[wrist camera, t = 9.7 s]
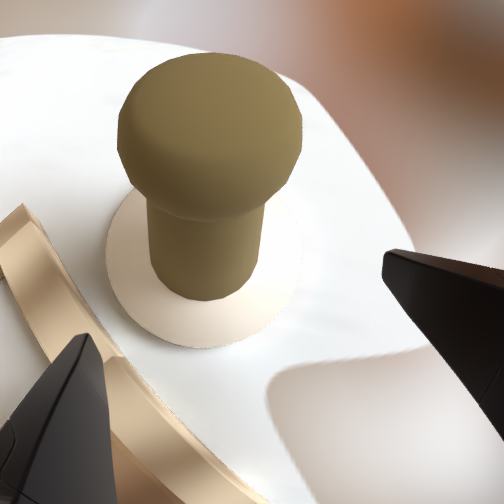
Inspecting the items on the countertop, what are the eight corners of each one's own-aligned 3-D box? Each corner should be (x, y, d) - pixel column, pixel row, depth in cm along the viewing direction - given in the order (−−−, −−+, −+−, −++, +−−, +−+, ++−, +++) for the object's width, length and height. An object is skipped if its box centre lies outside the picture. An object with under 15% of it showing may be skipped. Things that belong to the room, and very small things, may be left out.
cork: (133, 281, 16) (41, 155, 5) (171, 186, 18) (156, 18, 8) (243, 315, 16) (318, 229, 6) (269, 214, 18) (340, 59, 8)
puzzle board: (267, 500, 13) (281, 524, 10) (103, 590, 8) (93, 614, 5) (39, 220, 17) (16, 196, 14) (-77, 344, 12) (-104, 337, 9)
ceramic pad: (298, 183, 20) (302, 175, 19) (291, 356, 17) (296, 356, 16) (134, 162, 19) (131, 153, 18) (95, 331, 15) (88, 329, 14)
